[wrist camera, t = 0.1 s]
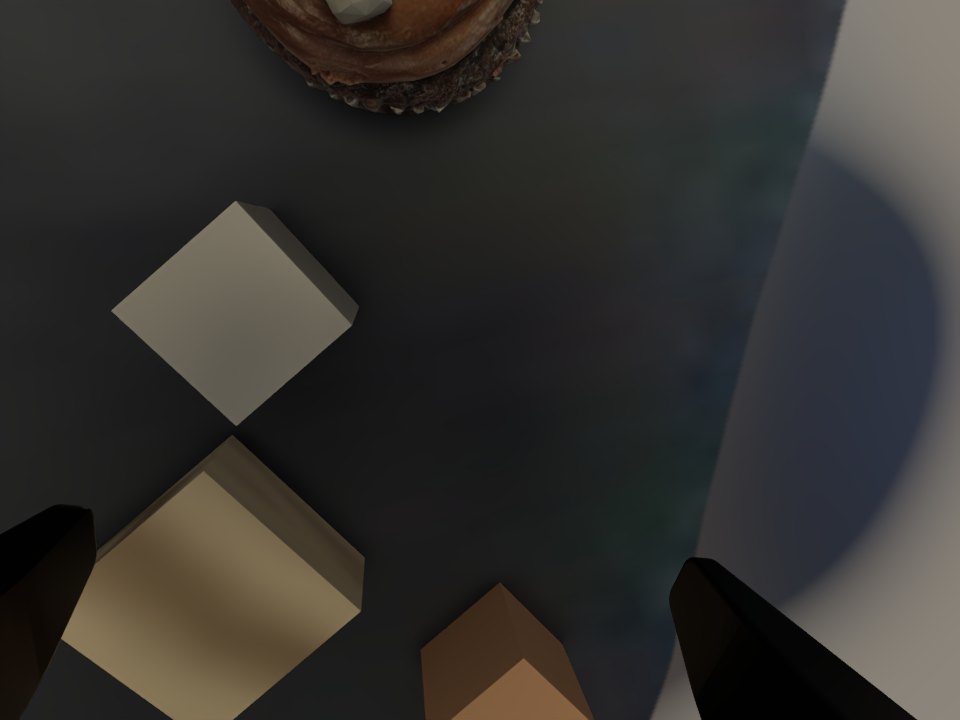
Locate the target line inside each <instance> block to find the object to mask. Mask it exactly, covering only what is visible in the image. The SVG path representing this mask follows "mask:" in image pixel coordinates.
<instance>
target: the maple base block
mask: <svg viewBox="0 0 960 720" xmlns="http://www.w3.org/2000/svg"><path fill="white" fill-rule="evenodd" d="M364 562H365V557H363V556H362V555H361V554H360V553H359V552H358V551H357V550H356V549H355V548H354V547H353V546H352V545H351V544H349V543H348V542H347V541H346V540H345V539H344V538H343V537H342V536H341V535H340V534H339V533H338V532H337V531H335V530H334V529H333V528H332V527H331V526H330V525H329V524H328V523H327V522H326V521H325V520H324V519H323V518H321V517H320V516H319V515H318V514H317V513H316V512H315V511H314V510H313V509H312V508H311V507H310V506H309V505H307V504H306V503H305V502H304V501H303V500H302V499H301V498H300V497H299V496H298V495H297V494H296V493H295V492H293V491H292V490H291V489H290V488H289V487H288V486H287V485H286V484H285V483H284V482H283V481H282V480H281V479H279V478H278V477H277V476H276V475H275V474H274V473H273V472H272V471H271V470H270V469H269V468H268V467H267V466H265V465H264V464H263V463H262V462H261V461H260V460H259V459H258V458H257V457H256V456H255V455H254V454H253V453H251V452H250V451H249V450H248V449H247V448H246V447H245V446H244V445H243V444H242V443H241V442H240V441H239V440H237V439H236V438H235V437H234V436H233V435H231V436H230V437H229V438H228V439H227V440H225V441H224V442H223V443H222V444H221V445H220V446H219V447H217V448H216V449H215V450H214V451H213V452H212V453H210V454H209V455H208V456H207V457H206V458H205V459H203V460H202V461H201V462H200V463H199V464H198V465H196V466H195V467H194V468H193V469H192V470H191V471H189V472H188V473H187V474H186V475H185V476H184V477H182V478H181V479H180V480H179V481H178V482H177V483H175V484H174V485H173V486H172V487H171V488H170V489H168V490H167V491H166V492H165V493H164V494H163V495H161V496H160V497H159V498H158V499H157V500H156V501H154V502H153V503H152V504H151V505H150V506H149V507H147V508H146V509H145V510H144V511H143V512H142V513H141V514H139V515H138V516H137V517H136V518H135V519H134V520H132V521H131V522H130V523H129V524H128V525H127V526H125V527H124V528H123V529H122V530H121V531H120V532H118V533H117V534H116V535H115V536H114V537H113V538H111V539H110V540H109V541H108V542H107V543H106V544H104V545H103V546H102V547H101V548H100V549H99V550H97V557H96V562H95V565H94V568H93V570H92V573H91V575H90V577H89V579H88V581H87V583H86V586H85V588H84V590H83V592H82V594H81V597H80V599H79V601H78V603H77V605H76V607H75V610H74V612H73V614H72V616H71V618H70V620H69V623H68V625H67V627H66V629H65V631H64V633H63V636H62V638H61V639H62V640H64V641H65V642H66V643H68V644H69V645H71V646H72V647H73V648H75V649H76V650H78V651H79V652H80V653H82V654H83V655H85V656H86V657H87V658H89V659H90V660H91V661H93V662H94V663H96V664H97V665H98V666H100V667H101V668H103V669H104V670H105V671H107V672H108V673H110V674H111V675H112V676H114V677H115V678H116V679H118V680H119V681H121V682H122V683H123V684H125V685H126V686H128V687H129V688H130V689H132V690H133V691H134V692H136V693H137V694H139V695H140V696H141V697H143V698H144V699H146V700H147V701H148V702H150V703H151V704H153V705H154V706H155V707H157V708H158V709H159V710H161V711H162V712H164V713H165V714H166V715H168V716H169V717H171V718H172V719H173V720H233V719H234V718H235V717H237V716H238V715H239V714H240V713H241V712H242V711H244V710H245V709H246V708H247V707H248V706H250V705H251V704H252V703H253V702H254V701H255V700H257V699H258V698H259V697H260V696H261V695H263V694H264V693H265V692H266V691H267V690H268V689H270V688H271V687H272V686H273V685H274V684H275V683H277V682H278V681H279V680H280V679H281V678H283V677H284V676H285V675H286V674H287V673H288V672H290V671H291V670H292V669H293V668H294V667H296V666H297V665H298V664H299V663H300V662H301V661H303V660H304V659H305V658H306V657H307V656H309V655H310V654H311V653H312V652H313V651H314V650H316V649H317V648H318V647H319V646H320V645H322V644H323V643H324V642H325V641H326V640H327V639H329V638H330V637H331V636H332V635H333V634H335V633H336V632H337V631H338V630H339V629H340V628H342V627H343V626H344V625H345V624H346V623H348V622H349V621H350V620H351V619H352V618H353V617H355V616H356V615H357V614H358V613H359V612H361V604H362V590H363V576H364Z"/></svg>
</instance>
